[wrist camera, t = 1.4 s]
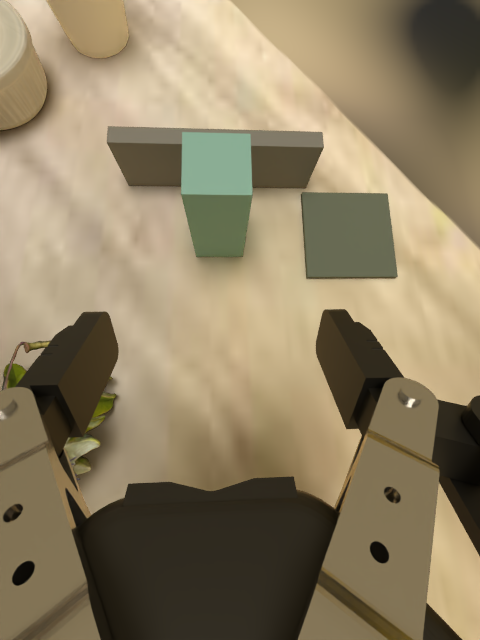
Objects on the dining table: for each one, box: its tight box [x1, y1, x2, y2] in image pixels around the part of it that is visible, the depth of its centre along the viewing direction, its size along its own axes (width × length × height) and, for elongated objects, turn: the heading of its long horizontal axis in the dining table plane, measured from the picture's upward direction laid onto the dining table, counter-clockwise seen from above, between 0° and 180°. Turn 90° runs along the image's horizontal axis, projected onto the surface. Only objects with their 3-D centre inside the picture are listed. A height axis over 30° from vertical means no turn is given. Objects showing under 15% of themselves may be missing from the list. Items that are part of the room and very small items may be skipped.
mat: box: [301, 192, 398, 278], centre depth 29 cm, size 9×9×1 cm
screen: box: [107, 126, 324, 188], centre depth 27 cm, size 18×4×6 cm, turn 91°
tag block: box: [181, 132, 252, 257], centre depth 23 cm, size 4×5×10 cm
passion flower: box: [2, 341, 116, 480], centre depth 21 cm, size 11×11×12 cm
